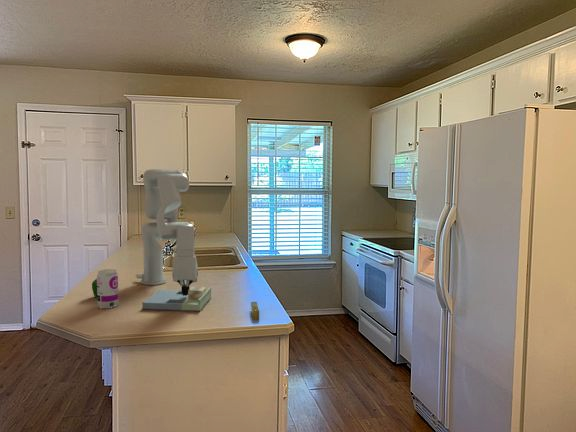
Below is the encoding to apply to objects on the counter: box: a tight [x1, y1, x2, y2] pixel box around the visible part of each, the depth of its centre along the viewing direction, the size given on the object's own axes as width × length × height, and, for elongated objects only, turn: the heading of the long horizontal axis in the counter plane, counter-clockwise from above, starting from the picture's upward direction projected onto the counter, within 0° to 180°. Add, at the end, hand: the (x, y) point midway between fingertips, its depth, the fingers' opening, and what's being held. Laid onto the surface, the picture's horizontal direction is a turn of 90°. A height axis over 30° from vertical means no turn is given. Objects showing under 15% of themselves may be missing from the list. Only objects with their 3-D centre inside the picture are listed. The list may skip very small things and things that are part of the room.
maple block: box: [188, 286, 207, 300], centre depth 187 cm, size 6×6×4 cm
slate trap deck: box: [142, 287, 212, 313], centre depth 188 cm, size 24×20×5 cm
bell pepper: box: [91, 278, 97, 298], centre depth 196 cm, size 8×8×10 cm
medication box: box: [250, 301, 260, 321], centre depth 175 cm, size 12×3×4 cm, turn 9°
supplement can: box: [96, 268, 119, 309], centre depth 182 cm, size 8×8×15 cm
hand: (185, 294), depth 188 cm, fingers closed
